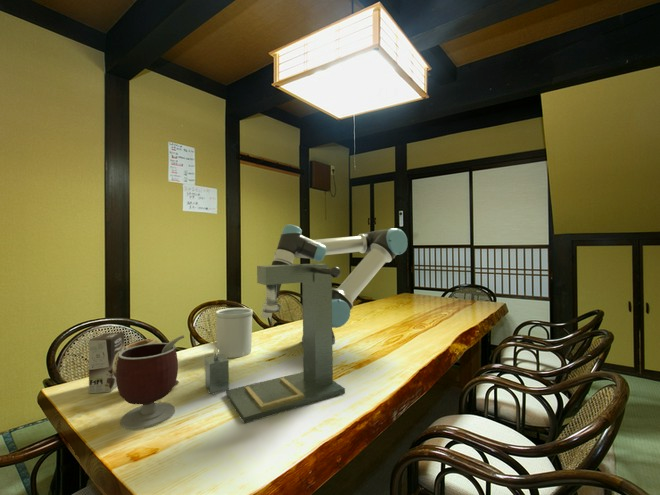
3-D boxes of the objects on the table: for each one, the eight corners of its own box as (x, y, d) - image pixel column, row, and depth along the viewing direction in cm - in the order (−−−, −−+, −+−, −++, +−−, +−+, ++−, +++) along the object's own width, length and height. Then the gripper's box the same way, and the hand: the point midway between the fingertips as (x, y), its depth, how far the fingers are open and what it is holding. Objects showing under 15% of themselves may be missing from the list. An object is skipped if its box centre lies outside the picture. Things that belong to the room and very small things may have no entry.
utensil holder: (251, 345, 143) (251, 306, 143) (254, 356, 129) (254, 312, 129) (216, 349, 138) (216, 308, 138) (215, 360, 124) (215, 315, 124)
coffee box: (111, 392, 97) (111, 339, 97) (88, 394, 96) (87, 340, 96) (125, 380, 106) (125, 331, 106) (104, 381, 105) (103, 332, 105)
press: (315, 373, 110) (313, 262, 110) (361, 404, 88) (359, 265, 88) (225, 395, 94) (224, 266, 94) (254, 439, 72) (252, 270, 72)
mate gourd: (110, 437, 74) (109, 350, 74) (122, 409, 87) (121, 335, 87) (184, 421, 80) (183, 341, 80) (185, 398, 93) (184, 329, 93)
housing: (223, 382, 104) (222, 345, 104) (228, 389, 98) (228, 350, 98) (205, 386, 101) (205, 347, 101) (210, 394, 95) (209, 353, 95)
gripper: (269, 266, 135) (253, 315, 128) (277, 253, 112) (257, 312, 105) (286, 271, 136) (271, 320, 130) (297, 259, 113) (279, 319, 107)
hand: (265, 317), depth 117 cm, fingers open, 13 cm apart
